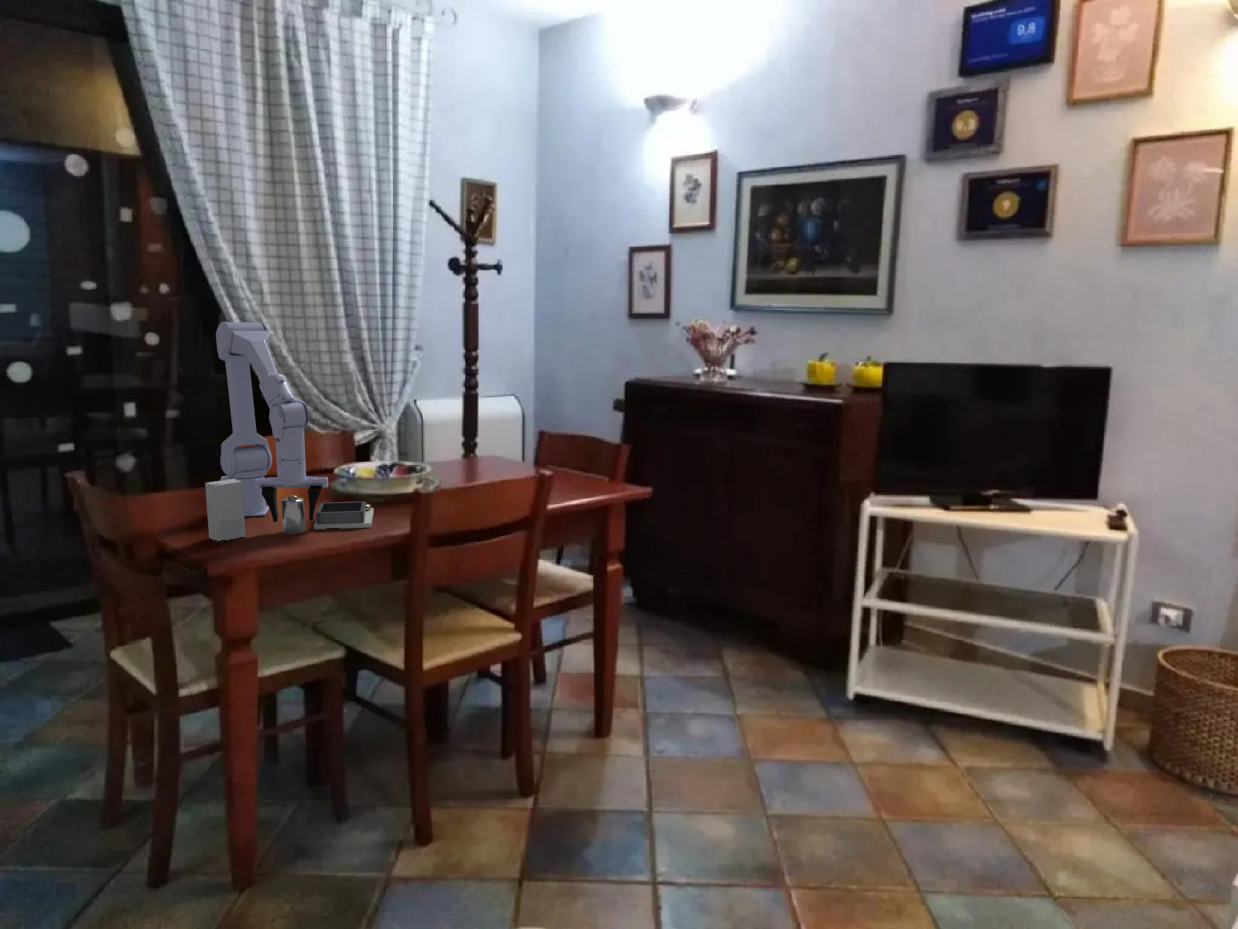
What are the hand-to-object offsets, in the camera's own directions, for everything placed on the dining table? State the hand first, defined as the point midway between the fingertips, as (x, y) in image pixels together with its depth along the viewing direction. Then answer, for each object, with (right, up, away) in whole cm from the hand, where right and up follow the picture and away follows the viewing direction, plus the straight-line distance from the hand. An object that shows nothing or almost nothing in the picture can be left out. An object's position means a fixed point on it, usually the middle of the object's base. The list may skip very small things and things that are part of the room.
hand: (293, 520), depth 186 cm
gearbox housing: (+8, -1, +10) cm, 13 cm away
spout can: (0, -2, +1) cm, 2 cm away
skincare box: (-12, -4, -6) cm, 14 cm away
